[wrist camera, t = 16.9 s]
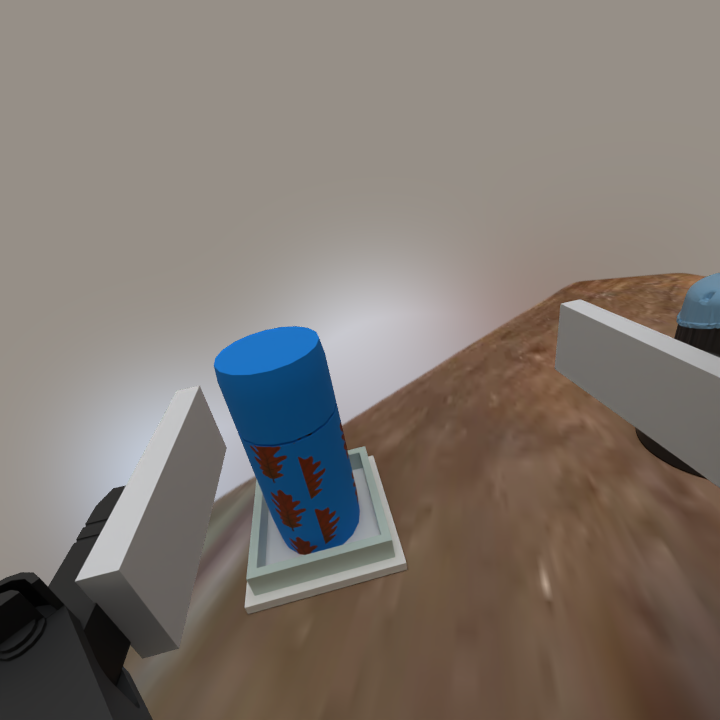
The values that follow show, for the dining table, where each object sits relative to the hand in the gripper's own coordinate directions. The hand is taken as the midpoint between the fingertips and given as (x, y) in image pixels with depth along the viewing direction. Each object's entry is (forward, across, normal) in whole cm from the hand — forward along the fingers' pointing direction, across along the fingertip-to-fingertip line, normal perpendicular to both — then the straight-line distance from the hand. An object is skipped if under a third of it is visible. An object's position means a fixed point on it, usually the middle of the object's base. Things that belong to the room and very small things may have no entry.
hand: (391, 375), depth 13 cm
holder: (+23, -8, -34) cm, 42 cm away
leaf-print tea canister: (+23, -8, -33) cm, 41 cm away
